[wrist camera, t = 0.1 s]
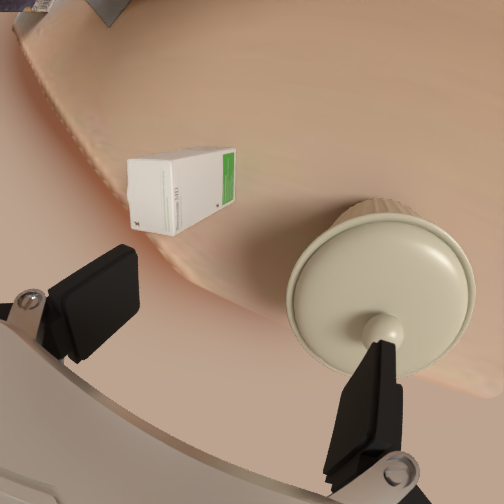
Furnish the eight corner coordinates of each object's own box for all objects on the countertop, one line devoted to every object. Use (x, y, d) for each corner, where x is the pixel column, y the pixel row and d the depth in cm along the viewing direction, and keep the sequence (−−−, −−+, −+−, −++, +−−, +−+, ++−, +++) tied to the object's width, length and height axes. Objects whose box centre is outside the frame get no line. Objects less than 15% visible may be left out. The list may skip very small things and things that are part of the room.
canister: (292, 211, 41) (229, 288, 23) (410, 155, 32) (462, 189, 14) (346, 314, 44) (322, 426, 27) (453, 273, 36) (495, 381, 18)
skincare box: (235, 202, 43) (176, 241, 30) (196, 197, 45) (129, 232, 32) (236, 145, 40) (172, 160, 27) (195, 143, 42) (122, 159, 29)
